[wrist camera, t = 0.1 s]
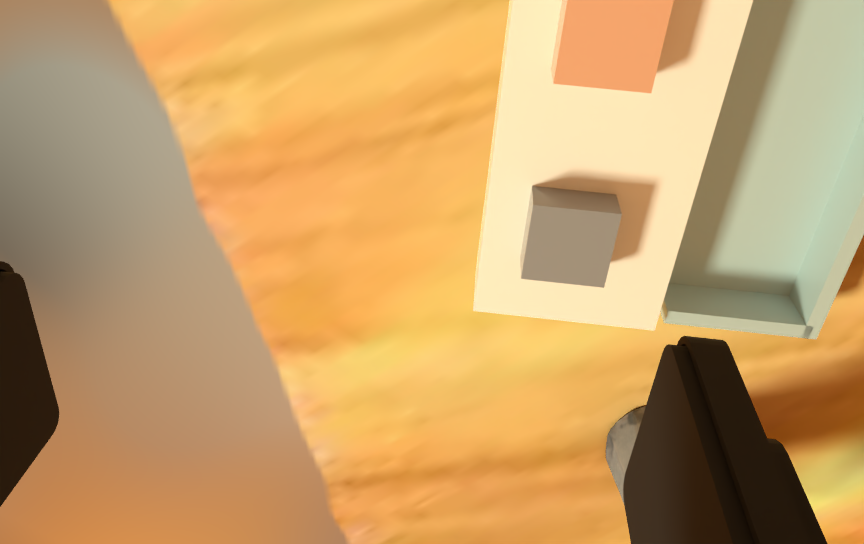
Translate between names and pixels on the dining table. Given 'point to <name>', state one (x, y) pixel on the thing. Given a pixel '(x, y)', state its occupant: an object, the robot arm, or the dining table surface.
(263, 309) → the dining table surface
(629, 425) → the moka pot
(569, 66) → the terracotta tile
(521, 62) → the board
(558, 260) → the slate tile
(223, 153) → the dining table surface
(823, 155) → the box
